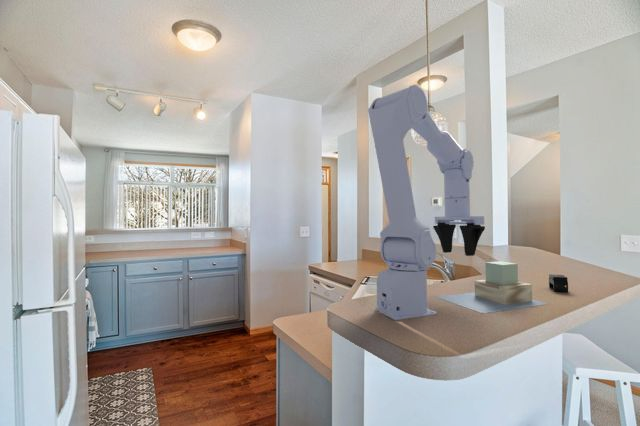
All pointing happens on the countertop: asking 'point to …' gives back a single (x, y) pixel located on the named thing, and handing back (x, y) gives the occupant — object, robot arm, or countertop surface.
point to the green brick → (502, 273)
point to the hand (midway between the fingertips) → (458, 253)
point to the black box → (558, 283)
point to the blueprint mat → (485, 303)
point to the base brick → (503, 292)
